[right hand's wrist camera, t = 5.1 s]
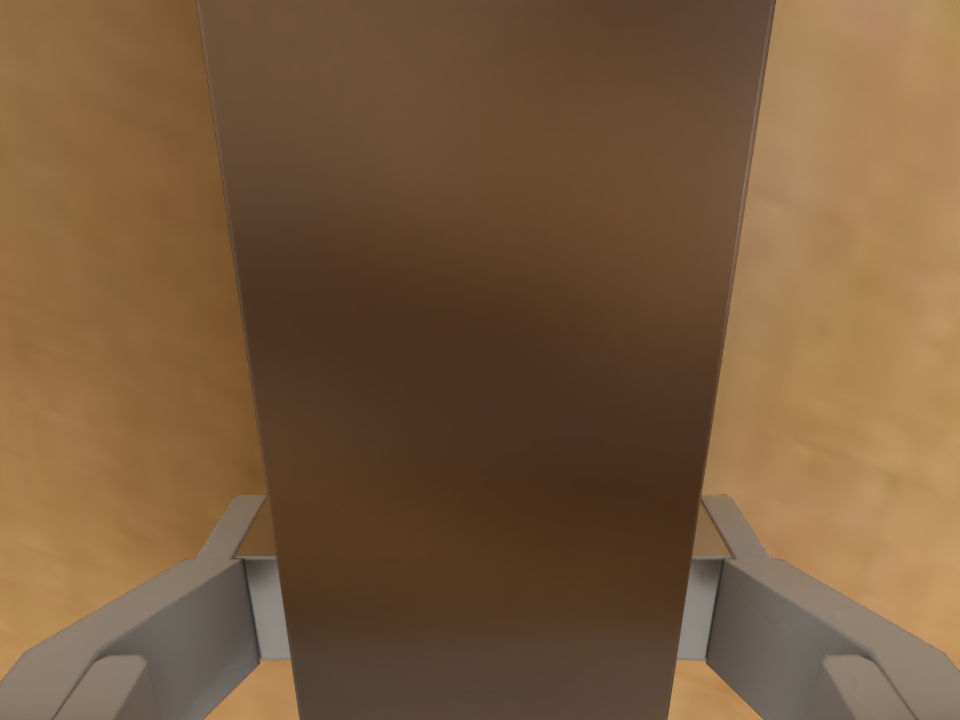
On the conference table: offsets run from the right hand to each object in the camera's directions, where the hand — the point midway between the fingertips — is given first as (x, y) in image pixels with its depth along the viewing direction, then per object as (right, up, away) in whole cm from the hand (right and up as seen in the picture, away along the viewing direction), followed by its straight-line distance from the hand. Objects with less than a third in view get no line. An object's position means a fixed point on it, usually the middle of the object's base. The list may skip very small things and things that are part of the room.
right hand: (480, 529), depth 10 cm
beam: (0, +24, -7) cm, 25 cm away
